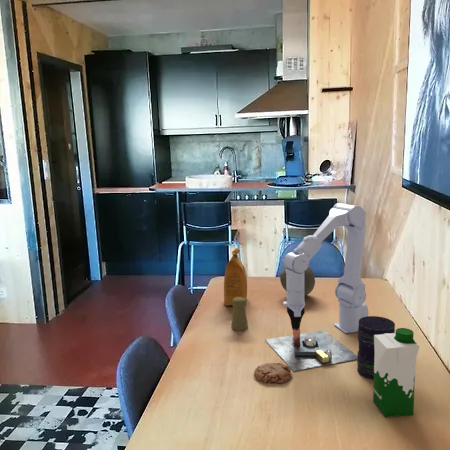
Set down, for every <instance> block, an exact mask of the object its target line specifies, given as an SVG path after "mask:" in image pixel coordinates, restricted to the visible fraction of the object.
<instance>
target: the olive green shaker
mask: <svg viewBox="0 0 450 450" xmlns="http://www.w3.org/2000/svg"><path fill="white" fill-rule="evenodd" d="M231 306H232V307H233V309H232V319H231V320H232V321H231V330H233V331H236V332H241V331H243V332H244V331H246V330H248V329H249V325H248V318H247V312H246V306H247V299H246V300H245V298H242V297H236V298H234V299H233V300H232V305H231Z"/></svg>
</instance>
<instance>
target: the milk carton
mask: <svg viewBox="0 0 450 450" xmlns="http://www.w3.org/2000/svg"><path fill="white" fill-rule="evenodd" d="M414 335H415V333H414V331H413V330H412V329H409V328H405V327H400V328H399V327H398V328H396V329H395V333H389V334H388V333H385V334H380V335H374V348H375V358H374V381H373V395H372V396H373V397H372V398H373V399H372V401H373V402H374V404H375V405H376V407H377V408H378V409H379V411H380V412H381V413H382V415H383V417H385V418H391V417H401V416H402V417H403V416H404V417H405V416H413V415H414V413H415V412H414V407H415V404H414V403H415V383H416V382H415V379H416V364H417V363H416V362H417V356H418V353H419V349H420V345H419V344H418V343H417V342H416V341H415V339H414Z"/></svg>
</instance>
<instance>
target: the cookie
mask: <svg viewBox="0 0 450 450" xmlns="http://www.w3.org/2000/svg"><path fill="white" fill-rule="evenodd" d="M291 371H292V369H291V368H290V367H289V366H288V365H287V364H283V363H282V362H268V363H263V364H261V365H258V366H256V368H255V369H254V372H253V377H254V379H255V380H256V381H258V382H262V383H277V384H283V383H285V382H287V381H289V380H290V379H291V378H292V376H293V375H292V372H291Z"/></svg>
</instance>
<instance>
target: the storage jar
mask: <svg viewBox="0 0 450 450" xmlns="http://www.w3.org/2000/svg"><path fill="white" fill-rule="evenodd" d="M395 328H396V324H395V322H394V321H393V320H391V319H390V318H386V317H383V316H379V315H378V316H376V315H368V316H367V317H363V318H361V319H359V326H358V331H357V340H358V351H357V354H356V355H357V360H356V363H357V366H356V367H357V369H356V372H357V374H358V375H359V376H360V377H362V378H364V379H367V380H369V381H373V382H374V358H375V348H374V335H380V334H385V333H388V334H389V333H396V329H395Z"/></svg>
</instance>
